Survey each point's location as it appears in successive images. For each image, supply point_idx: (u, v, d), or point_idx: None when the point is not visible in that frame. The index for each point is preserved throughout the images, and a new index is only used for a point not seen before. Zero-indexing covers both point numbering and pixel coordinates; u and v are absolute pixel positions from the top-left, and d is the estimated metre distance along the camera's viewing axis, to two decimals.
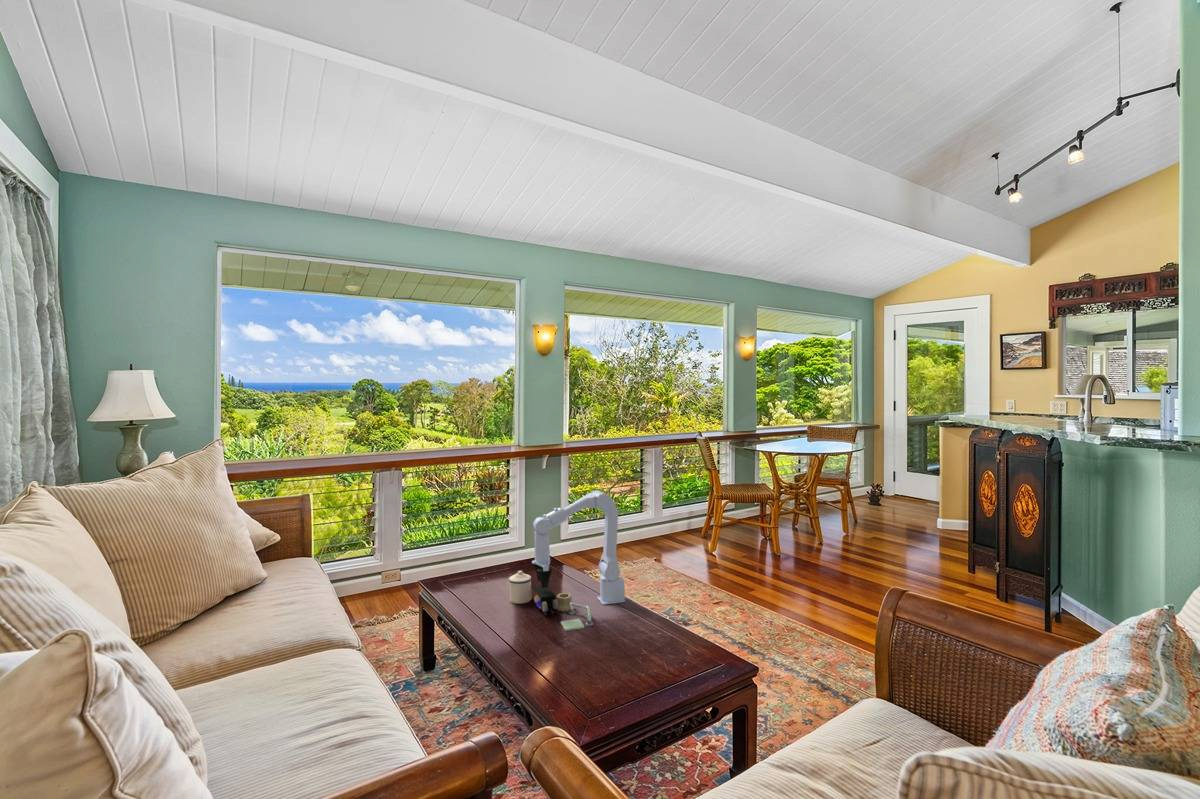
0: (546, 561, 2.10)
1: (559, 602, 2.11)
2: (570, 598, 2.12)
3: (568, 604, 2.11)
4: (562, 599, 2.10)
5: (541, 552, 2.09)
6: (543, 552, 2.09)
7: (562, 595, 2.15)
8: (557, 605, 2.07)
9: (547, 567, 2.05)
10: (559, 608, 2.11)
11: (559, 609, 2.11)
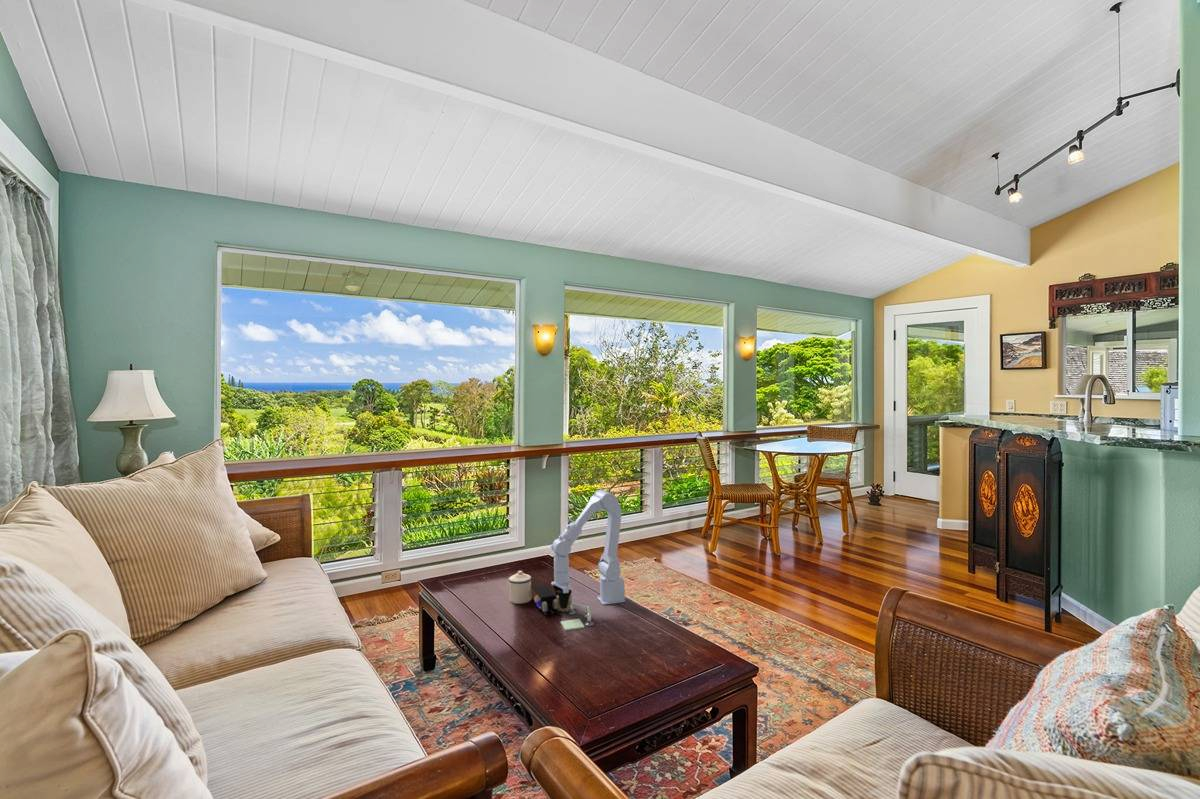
0: (566, 582, 2.10)
1: (559, 602, 2.11)
2: (570, 598, 2.12)
3: (568, 604, 2.11)
4: None
5: (561, 574, 2.10)
6: (563, 574, 2.10)
7: None
8: (557, 605, 2.07)
9: (567, 589, 2.06)
10: (559, 608, 2.11)
11: (559, 609, 2.11)
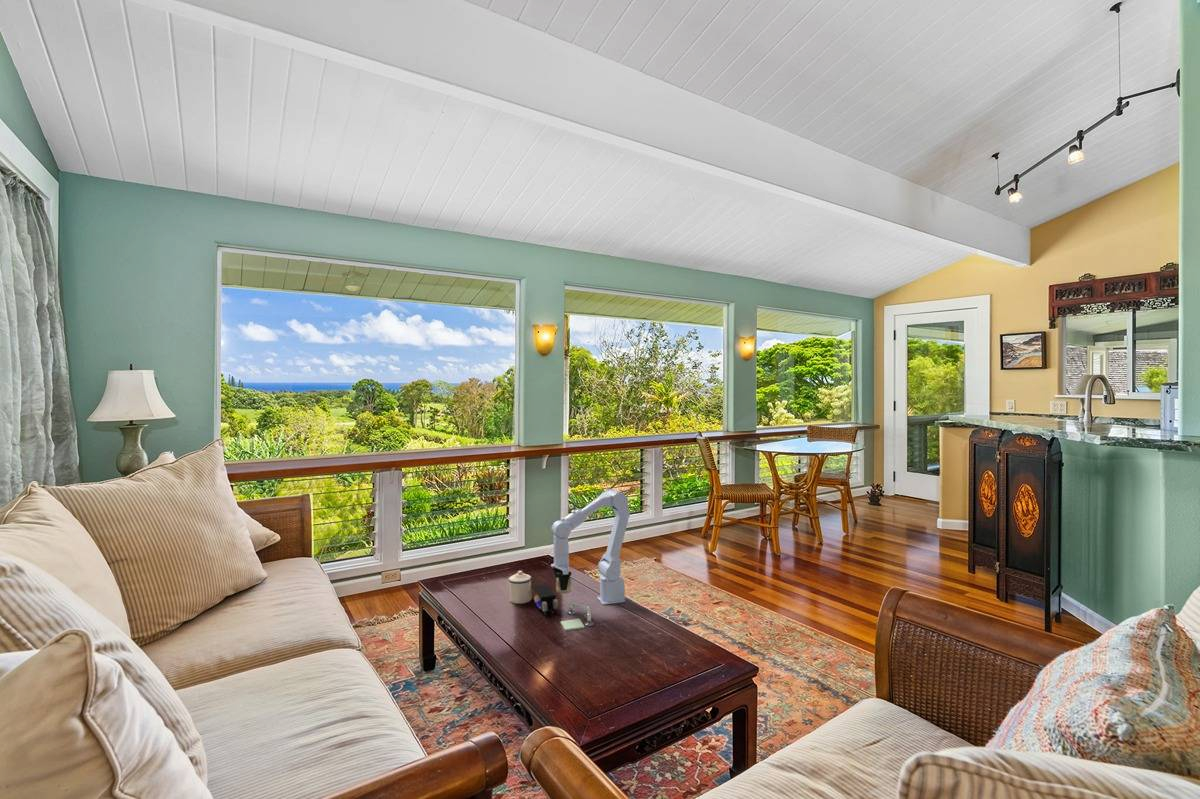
0: (565, 564, 2.10)
1: (559, 584, 2.11)
2: (570, 580, 2.12)
3: (568, 586, 2.11)
4: None
5: (560, 555, 2.10)
6: (563, 556, 2.10)
7: None
8: (557, 605, 2.07)
9: (567, 570, 2.06)
10: (559, 590, 2.11)
11: (559, 591, 2.11)
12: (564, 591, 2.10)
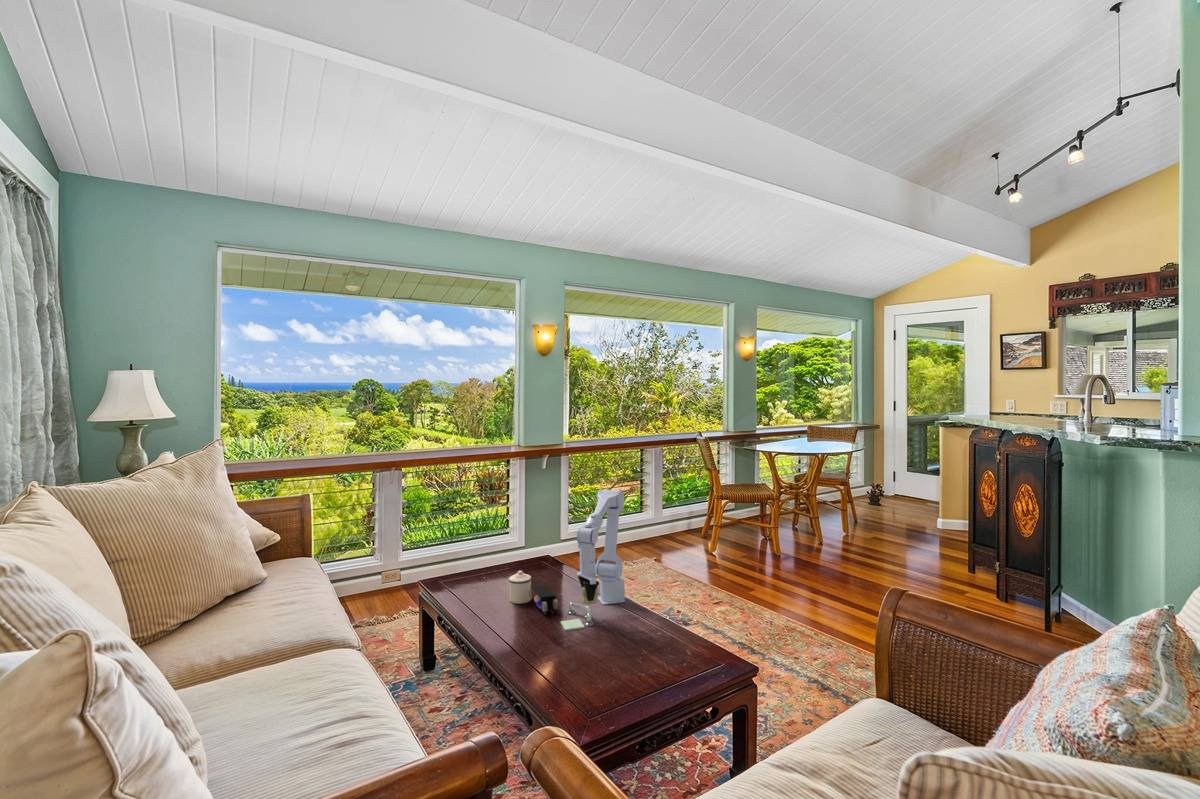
0: (592, 573, 1.99)
1: (584, 594, 1.99)
2: (596, 590, 2.00)
3: (594, 597, 1.99)
4: None
5: (587, 564, 1.98)
6: (589, 564, 1.99)
7: None
8: (557, 605, 2.07)
9: (594, 580, 1.95)
10: (584, 601, 1.99)
11: (584, 602, 1.99)
12: (590, 602, 1.99)
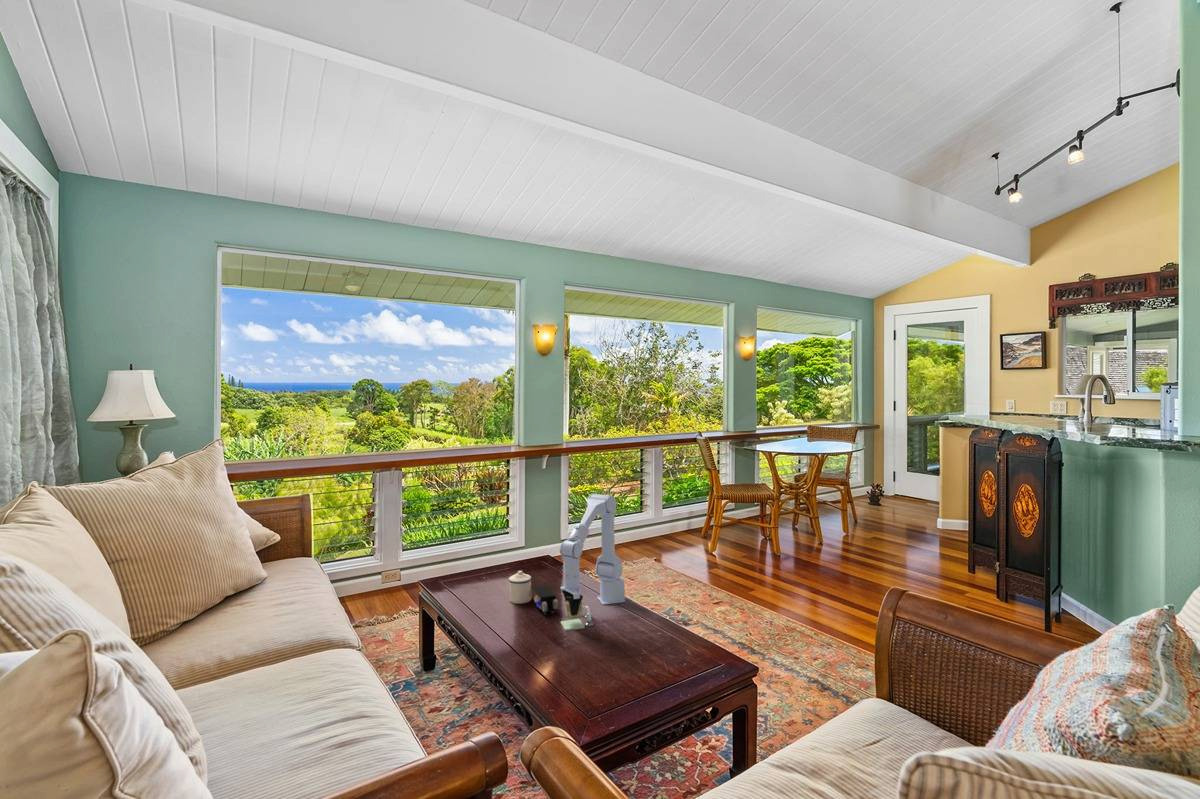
0: (576, 587, 1.95)
1: (568, 609, 1.95)
2: (580, 605, 1.96)
3: (578, 611, 1.95)
4: None
5: (571, 578, 1.94)
6: (573, 578, 1.95)
7: None
8: (557, 605, 2.07)
9: (578, 594, 1.91)
10: (568, 615, 1.95)
11: (568, 616, 1.96)
12: (574, 616, 1.95)
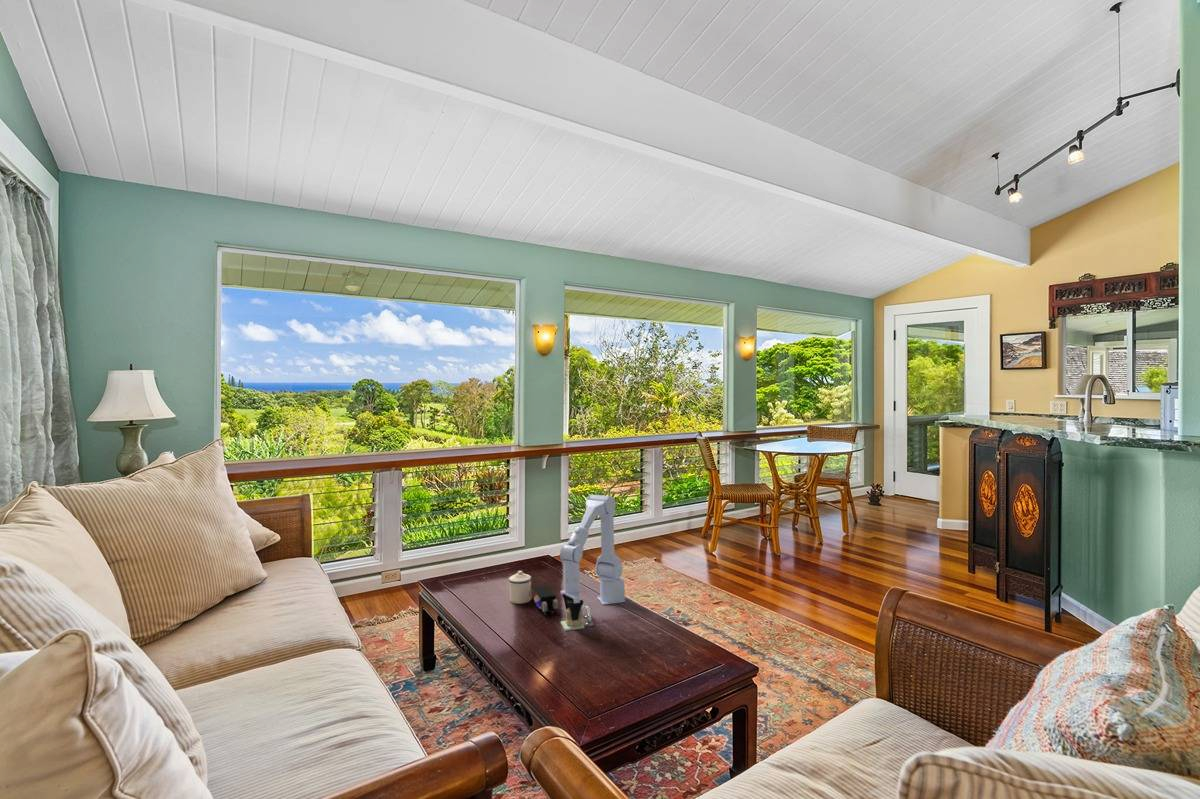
0: (576, 591, 1.95)
1: (568, 617, 1.95)
2: (580, 613, 1.96)
3: (578, 619, 1.95)
4: None
5: (571, 582, 1.94)
6: (573, 582, 1.95)
7: None
8: (557, 605, 2.07)
9: (578, 599, 1.91)
10: (568, 623, 1.96)
11: (568, 624, 1.96)
12: (574, 624, 1.95)
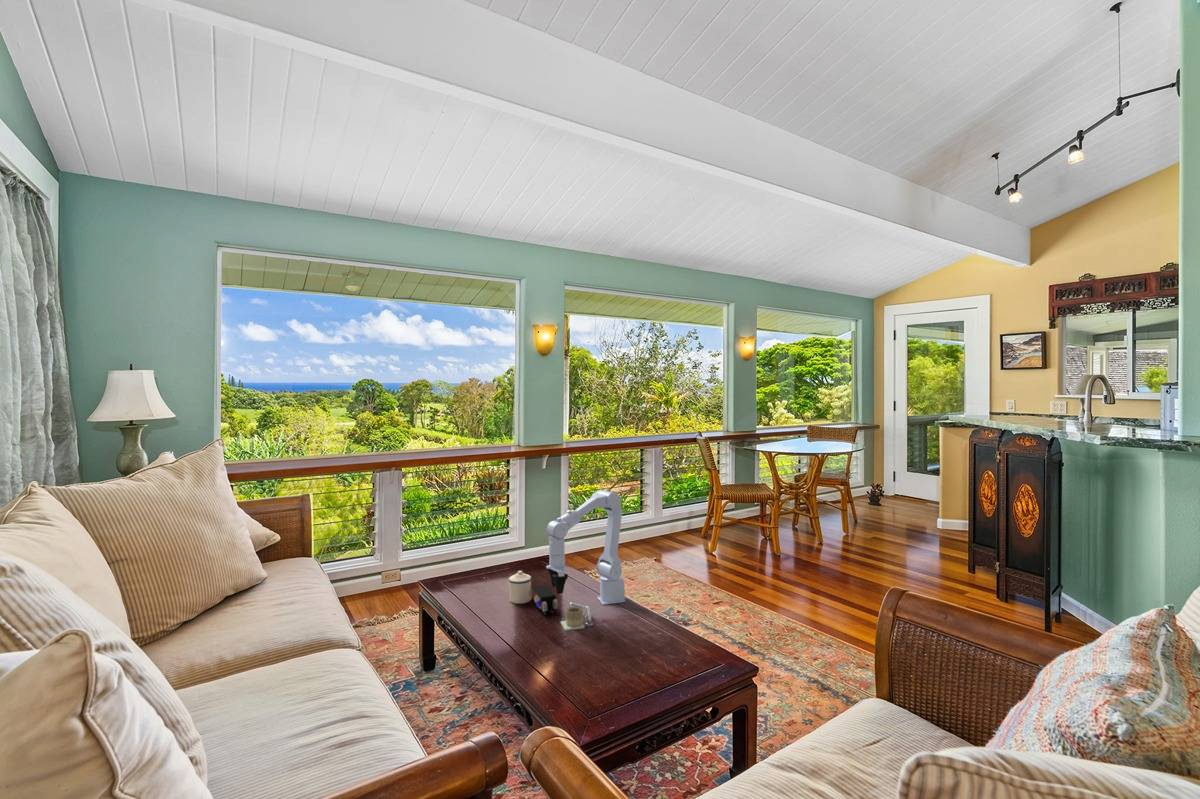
0: (561, 566, 2.04)
1: (568, 617, 1.95)
2: (580, 613, 1.96)
3: (578, 619, 1.95)
4: (572, 614, 1.95)
5: (556, 557, 2.03)
6: (558, 557, 2.03)
7: (572, 609, 1.99)
8: (557, 605, 2.07)
9: (563, 572, 1.99)
10: (568, 623, 1.96)
11: (568, 624, 1.96)
12: (574, 624, 1.95)
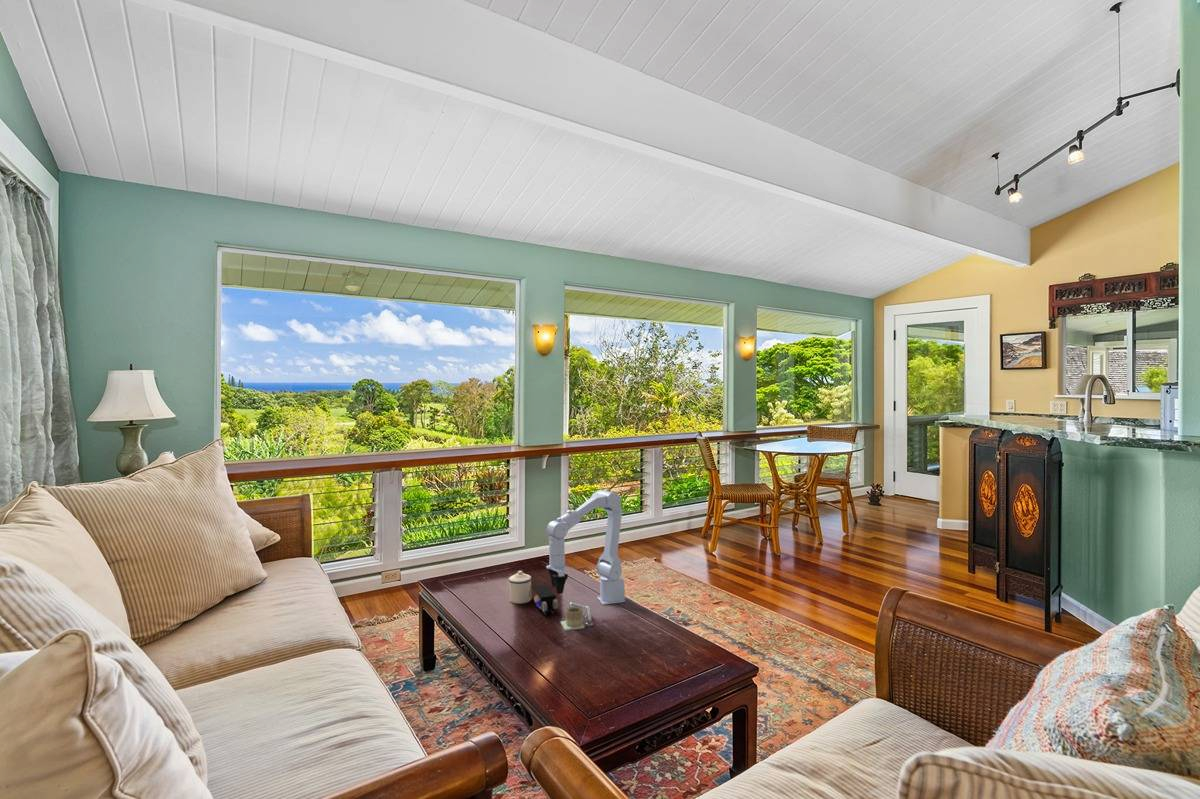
0: (561, 566, 2.04)
1: (568, 617, 1.95)
2: (580, 613, 1.96)
3: (578, 619, 1.95)
4: (572, 614, 1.95)
5: (556, 557, 2.03)
6: (558, 557, 2.03)
7: (572, 609, 1.99)
8: (557, 605, 2.07)
9: (563, 572, 1.99)
10: (568, 623, 1.96)
11: (568, 624, 1.96)
12: (574, 624, 1.95)
